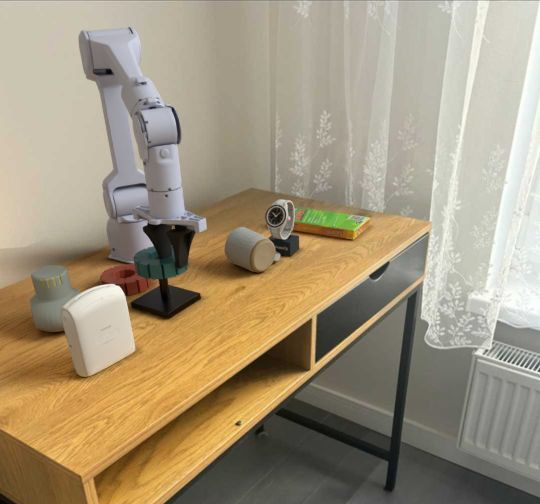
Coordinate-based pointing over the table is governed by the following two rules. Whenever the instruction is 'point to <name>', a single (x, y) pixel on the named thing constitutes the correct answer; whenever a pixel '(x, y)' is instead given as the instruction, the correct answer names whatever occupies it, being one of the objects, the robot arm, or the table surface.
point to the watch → (282, 227)
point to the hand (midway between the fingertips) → (174, 264)
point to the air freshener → (50, 296)
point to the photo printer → (97, 328)
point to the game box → (329, 223)
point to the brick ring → (125, 279)
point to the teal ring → (156, 265)
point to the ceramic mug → (250, 250)
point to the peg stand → (165, 300)
